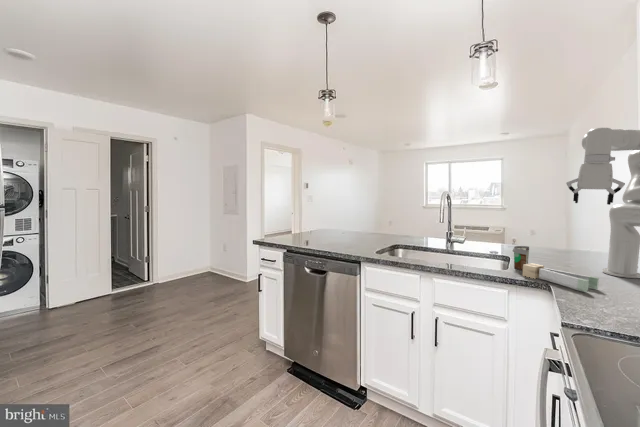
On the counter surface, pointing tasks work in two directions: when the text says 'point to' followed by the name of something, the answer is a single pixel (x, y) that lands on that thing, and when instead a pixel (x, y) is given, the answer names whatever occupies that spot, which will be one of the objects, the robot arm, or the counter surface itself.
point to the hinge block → (531, 270)
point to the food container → (520, 256)
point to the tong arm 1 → (564, 280)
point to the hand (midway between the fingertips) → (592, 203)
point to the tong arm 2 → (592, 280)
